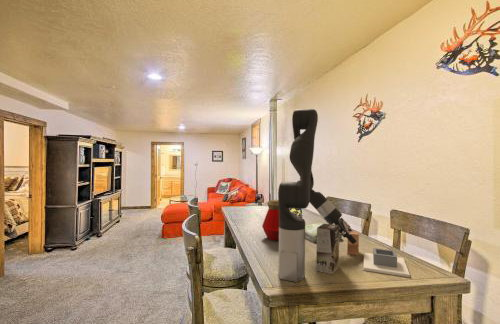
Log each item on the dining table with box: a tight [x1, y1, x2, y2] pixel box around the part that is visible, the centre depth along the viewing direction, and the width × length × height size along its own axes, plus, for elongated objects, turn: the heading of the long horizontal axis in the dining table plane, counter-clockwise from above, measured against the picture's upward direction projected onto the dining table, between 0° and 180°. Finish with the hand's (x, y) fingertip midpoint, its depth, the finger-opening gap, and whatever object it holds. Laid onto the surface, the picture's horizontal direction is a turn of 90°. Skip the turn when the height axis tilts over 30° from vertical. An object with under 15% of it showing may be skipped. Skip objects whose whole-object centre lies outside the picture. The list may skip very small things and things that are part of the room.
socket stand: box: [363, 247, 411, 278], centre depth 107 cm, size 18×15×5 cm
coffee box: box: [315, 223, 340, 275], centre depth 102 cm, size 9×6×16 cm
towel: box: [305, 222, 343, 243], centre depth 147 cm, size 18×21×5 cm
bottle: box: [262, 199, 279, 242], centre depth 141 cm, size 16×14×20 cm
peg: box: [346, 230, 360, 256], centre depth 120 cm, size 4×4×9 cm
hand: (355, 240), depth 120 cm, fingers open, 8 cm apart
